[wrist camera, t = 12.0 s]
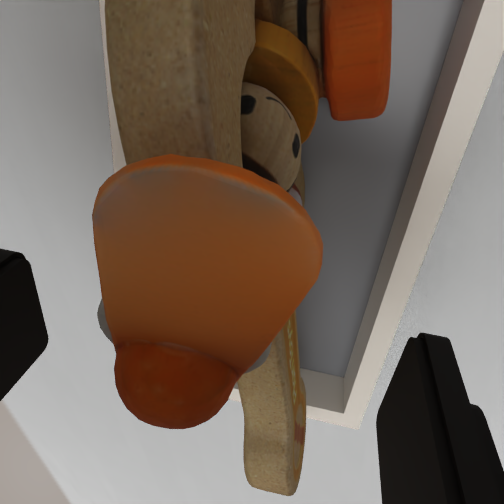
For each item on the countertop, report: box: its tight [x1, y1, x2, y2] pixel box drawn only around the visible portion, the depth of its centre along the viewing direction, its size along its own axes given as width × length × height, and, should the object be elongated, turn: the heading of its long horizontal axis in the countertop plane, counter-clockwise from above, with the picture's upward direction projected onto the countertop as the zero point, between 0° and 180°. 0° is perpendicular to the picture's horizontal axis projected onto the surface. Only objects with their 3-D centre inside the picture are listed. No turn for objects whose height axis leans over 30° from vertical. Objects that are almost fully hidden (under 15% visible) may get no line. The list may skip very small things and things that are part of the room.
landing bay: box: [99, 0, 504, 430], centre depth 18 cm, size 23×13×4 cm, turn 174°
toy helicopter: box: [92, 0, 392, 496], centre depth 13 cm, size 8×21×14 cm, turn 7°
